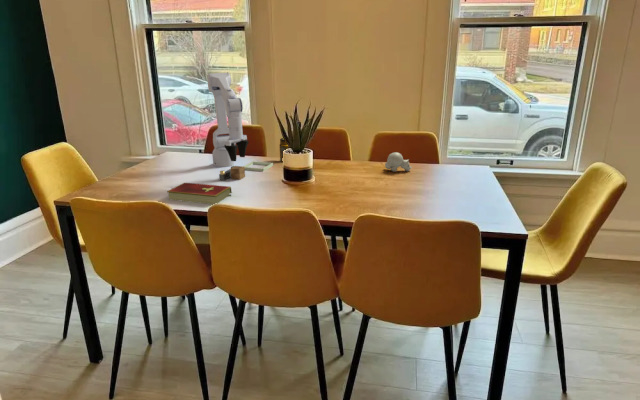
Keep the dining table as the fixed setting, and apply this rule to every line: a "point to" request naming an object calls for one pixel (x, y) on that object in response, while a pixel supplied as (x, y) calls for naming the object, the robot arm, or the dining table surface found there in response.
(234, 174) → the block
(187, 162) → the dining table surface
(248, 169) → the tray
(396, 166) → the toy rhinoceros
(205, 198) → the hardcover book
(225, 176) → the crank
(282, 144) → the condiment
